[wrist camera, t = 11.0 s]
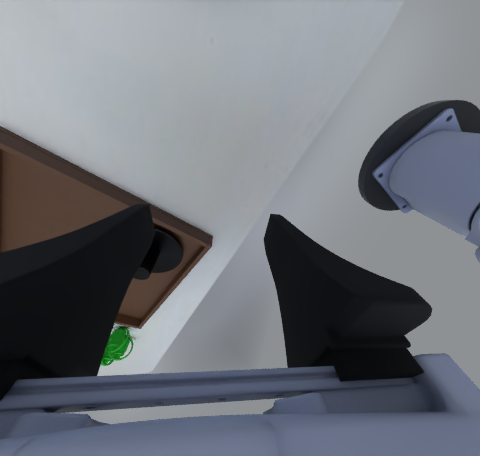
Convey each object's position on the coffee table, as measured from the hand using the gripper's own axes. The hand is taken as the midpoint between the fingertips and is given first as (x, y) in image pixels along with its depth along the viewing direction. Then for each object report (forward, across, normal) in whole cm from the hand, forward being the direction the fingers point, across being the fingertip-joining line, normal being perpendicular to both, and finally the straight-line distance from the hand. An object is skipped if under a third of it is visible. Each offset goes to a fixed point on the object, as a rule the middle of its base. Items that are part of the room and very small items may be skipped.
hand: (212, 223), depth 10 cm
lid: (+8, +8, +10) cm, 15 cm away
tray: (+9, +16, +14) cm, 23 cm away
